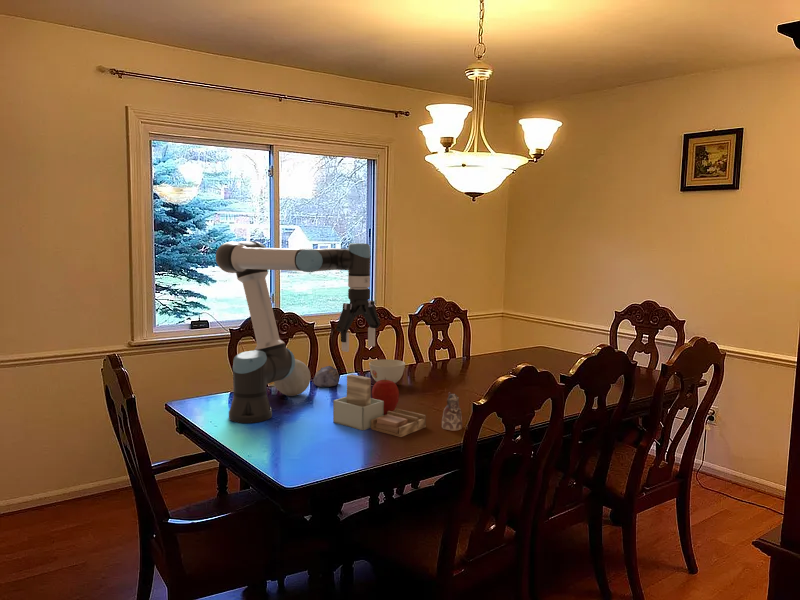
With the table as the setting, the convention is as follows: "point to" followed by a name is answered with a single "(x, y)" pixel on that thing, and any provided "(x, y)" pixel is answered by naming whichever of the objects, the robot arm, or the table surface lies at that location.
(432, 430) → the table surface
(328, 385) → the rock
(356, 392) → the birch sheet
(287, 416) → the table surface
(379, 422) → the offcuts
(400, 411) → the oak rack
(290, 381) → the decorative sphere
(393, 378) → the bowl
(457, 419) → the figurine
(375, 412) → the box
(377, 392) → the red ovoid
